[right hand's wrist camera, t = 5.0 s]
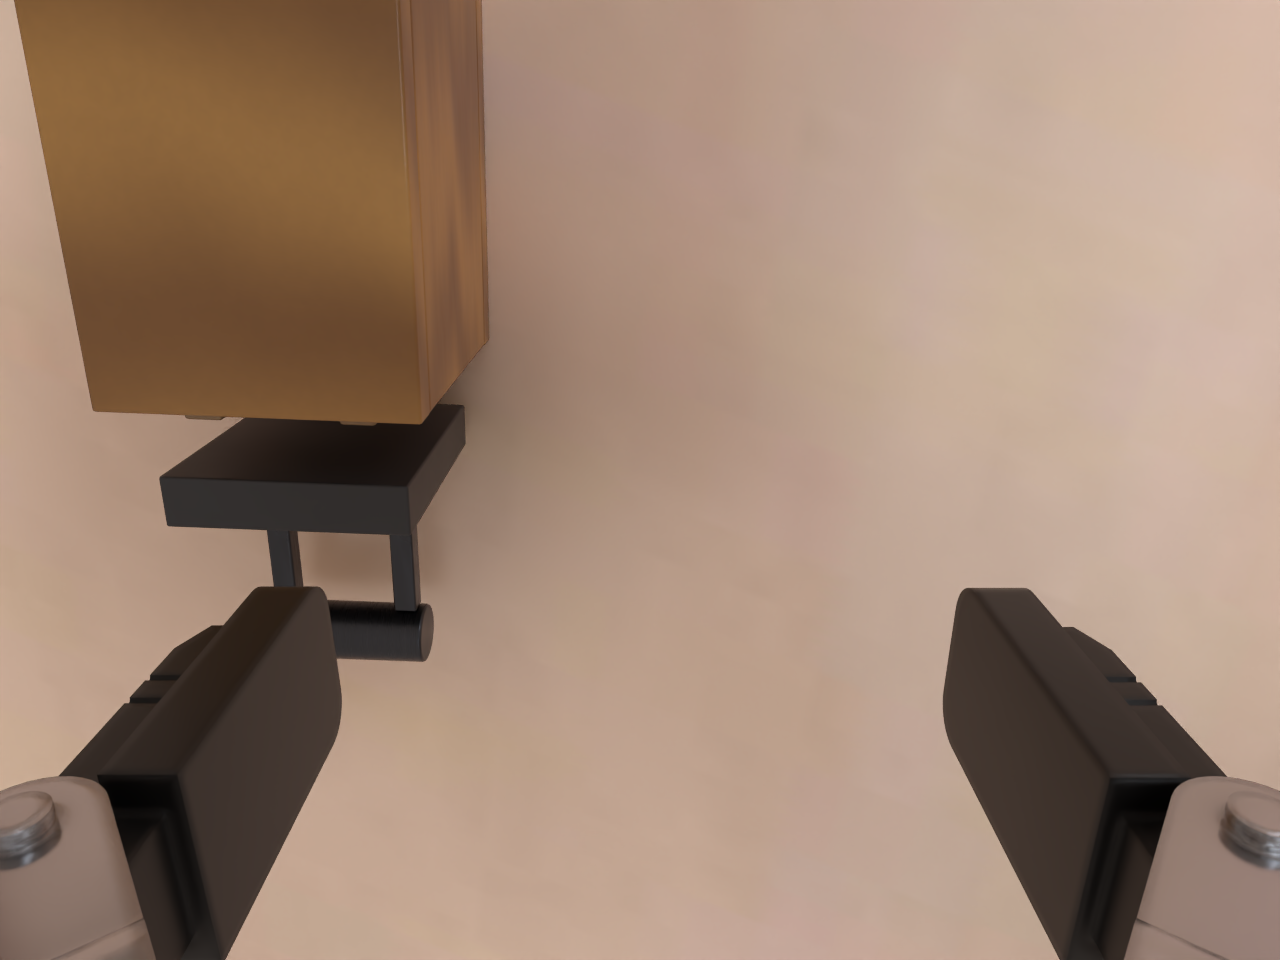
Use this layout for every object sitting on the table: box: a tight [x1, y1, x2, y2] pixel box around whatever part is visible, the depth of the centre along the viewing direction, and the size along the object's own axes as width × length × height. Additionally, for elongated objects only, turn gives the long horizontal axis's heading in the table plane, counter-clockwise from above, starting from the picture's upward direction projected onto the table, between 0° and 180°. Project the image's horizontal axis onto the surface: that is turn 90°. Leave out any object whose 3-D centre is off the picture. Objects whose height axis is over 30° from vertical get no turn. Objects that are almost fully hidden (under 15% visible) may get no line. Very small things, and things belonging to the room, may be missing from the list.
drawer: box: [160, 404, 465, 662], centre depth 21 cm, size 20×5×6 cm, turn 178°
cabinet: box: [14, 0, 489, 424], centre depth 19 cm, size 16×7×8 cm, turn 178°
